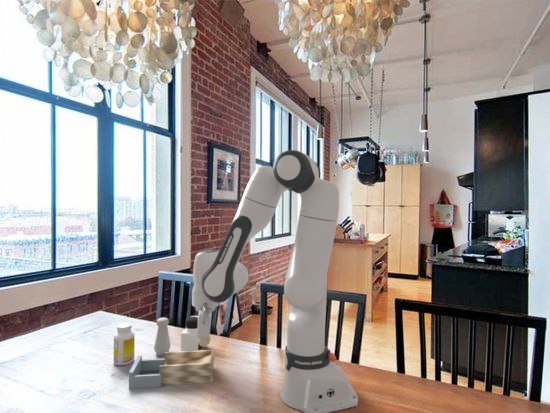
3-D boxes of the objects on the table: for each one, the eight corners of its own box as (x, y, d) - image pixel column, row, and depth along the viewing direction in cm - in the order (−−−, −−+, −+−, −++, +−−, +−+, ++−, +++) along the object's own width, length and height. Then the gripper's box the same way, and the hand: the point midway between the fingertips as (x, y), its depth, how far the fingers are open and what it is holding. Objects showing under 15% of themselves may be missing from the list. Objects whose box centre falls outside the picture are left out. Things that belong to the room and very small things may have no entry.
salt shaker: (165, 357, 120) (165, 322, 120) (150, 356, 121) (151, 320, 121) (173, 350, 126) (173, 316, 126) (159, 349, 127) (159, 315, 127)
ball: (198, 343, 111) (198, 331, 111) (210, 343, 111) (210, 331, 111) (197, 348, 107) (197, 336, 107) (209, 348, 107) (210, 336, 107)
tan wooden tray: (213, 367, 114) (213, 349, 114) (212, 382, 104) (213, 363, 104) (164, 369, 112) (165, 352, 112) (159, 386, 102) (159, 366, 102)
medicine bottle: (198, 353, 124) (199, 321, 124) (180, 351, 125) (181, 320, 125) (205, 345, 131) (206, 315, 131) (188, 343, 132) (188, 313, 132)
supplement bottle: (137, 357, 120) (137, 322, 120) (129, 366, 114) (129, 329, 113) (118, 357, 120) (119, 321, 120) (109, 366, 113) (110, 328, 113)
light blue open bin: (166, 368, 112) (167, 354, 112) (160, 386, 101) (161, 370, 101) (137, 370, 111) (138, 355, 111) (128, 388, 100) (128, 372, 100)
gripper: (215, 309, 99) (213, 355, 99) (216, 290, 119) (214, 329, 119) (193, 309, 98) (191, 356, 98) (198, 290, 118) (196, 329, 118)
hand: (204, 341), depth 109 cm, fingers closed on ball, 4 cm apart
